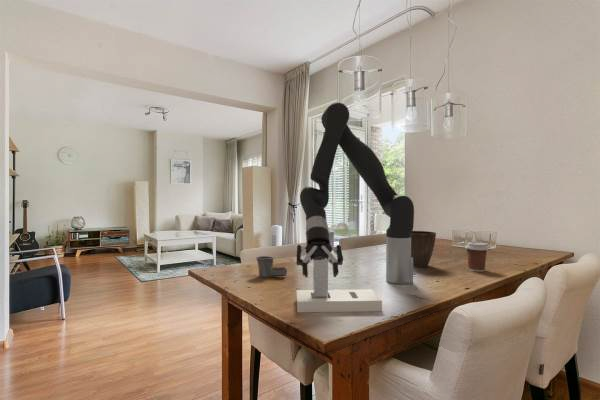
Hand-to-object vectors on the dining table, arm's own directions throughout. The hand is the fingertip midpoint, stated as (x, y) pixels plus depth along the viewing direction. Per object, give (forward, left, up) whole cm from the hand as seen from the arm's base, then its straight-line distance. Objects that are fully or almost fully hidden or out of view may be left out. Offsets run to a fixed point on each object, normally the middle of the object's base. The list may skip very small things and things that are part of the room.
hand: (320, 275), depth 92 cm
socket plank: (-5, -1, -9) cm, 10 cm away
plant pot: (-53, -55, -9) cm, 77 cm away
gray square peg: (0, -1, -9) cm, 9 cm away
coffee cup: (-75, -45, -9) cm, 88 cm away
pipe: (+17, -37, -9) cm, 41 cm away
